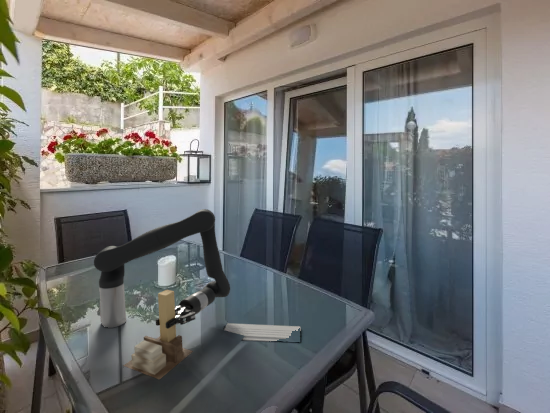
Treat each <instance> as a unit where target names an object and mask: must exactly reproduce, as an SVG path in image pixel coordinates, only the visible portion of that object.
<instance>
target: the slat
mask: <svg viewBox="0 0 550 413" xmlns="http://www.w3.org/2000/svg"><path fill="white" fill-rule="evenodd" d="M157 300H158V301H157V302H158V318H159V323H160V325H159V337H160V340H161V341H164V342H167V343H168V342H170V341H171V340H173V339H174V338H175V337H177V328H176V325H177V324H175V325H174V326H172V327H170V328H168V329H167V328H166V322H168V321H169V320H171V319H172V318H175V306H176V303H175V302H176V301H175V291H174V290H171V289H168V288H167V289H165V290H163V291H160V292H159V293H157Z"/></svg>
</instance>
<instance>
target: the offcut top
mask: <svg viewBox="0 0 550 413" xmlns="http://www.w3.org/2000/svg"><path fill="white" fill-rule="evenodd" d="M133 347H134V353H135V355H136V356H139V357H142V358H145V359H148V360H150V361H154V360H155V359H157V358H158V357H159V356H161V355H162V346H160V345H157V344H154V343H151V342H148V341H145V340H144V339H143V340H142V341H140V342H139V343H138V344H136V345H134V346H133Z"/></svg>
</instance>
